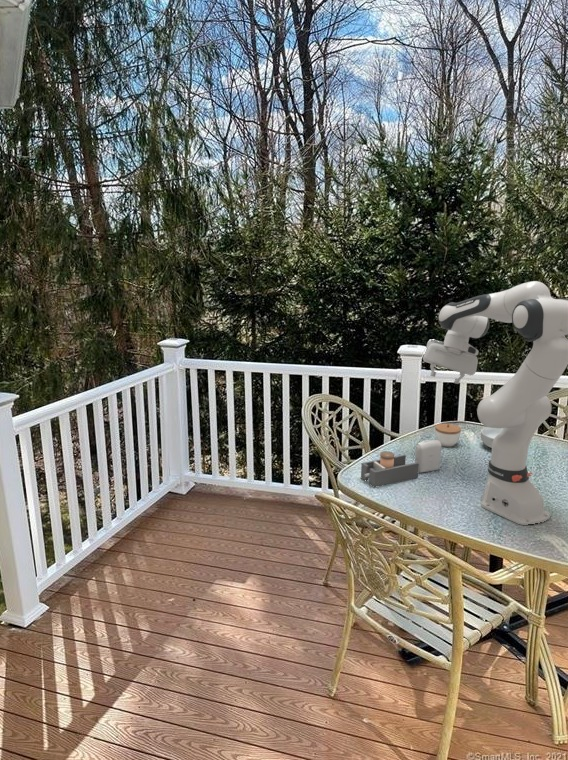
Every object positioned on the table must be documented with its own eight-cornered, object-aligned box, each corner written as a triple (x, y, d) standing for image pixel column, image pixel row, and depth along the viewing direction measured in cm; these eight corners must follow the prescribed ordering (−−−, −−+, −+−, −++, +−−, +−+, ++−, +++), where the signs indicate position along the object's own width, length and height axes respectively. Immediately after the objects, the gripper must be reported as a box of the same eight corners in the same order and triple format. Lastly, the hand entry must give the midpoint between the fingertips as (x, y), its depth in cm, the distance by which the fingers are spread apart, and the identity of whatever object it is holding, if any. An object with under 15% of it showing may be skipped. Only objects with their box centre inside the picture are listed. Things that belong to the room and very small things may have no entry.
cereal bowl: (471, 444, 235) (472, 429, 233) (499, 438, 241) (500, 423, 240) (501, 458, 220) (502, 442, 218) (530, 451, 227) (532, 436, 225)
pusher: (384, 482, 198) (385, 467, 196) (369, 486, 195) (370, 470, 194) (375, 475, 203) (375, 461, 202) (360, 479, 201) (361, 464, 199)
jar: (395, 480, 200) (397, 455, 198) (384, 482, 198) (385, 457, 196) (387, 474, 205) (389, 450, 202) (376, 477, 203) (377, 452, 200)
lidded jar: (434, 447, 231) (436, 427, 229) (433, 438, 241) (435, 419, 239) (460, 449, 229) (462, 429, 226) (458, 440, 239) (460, 420, 236)
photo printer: (418, 473, 206) (420, 443, 202) (412, 469, 210) (414, 440, 206) (441, 470, 209) (444, 440, 206) (435, 465, 213) (437, 436, 210)
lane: (417, 477, 202) (418, 463, 201) (374, 487, 195) (374, 472, 193) (403, 468, 210) (404, 454, 209) (360, 477, 202) (361, 463, 201)
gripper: (430, 336, 203) (420, 371, 203) (482, 352, 202) (472, 387, 202) (426, 338, 209) (416, 372, 209) (477, 353, 209) (467, 387, 208)
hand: (444, 379), depth 206 cm, fingers open, 8 cm apart
